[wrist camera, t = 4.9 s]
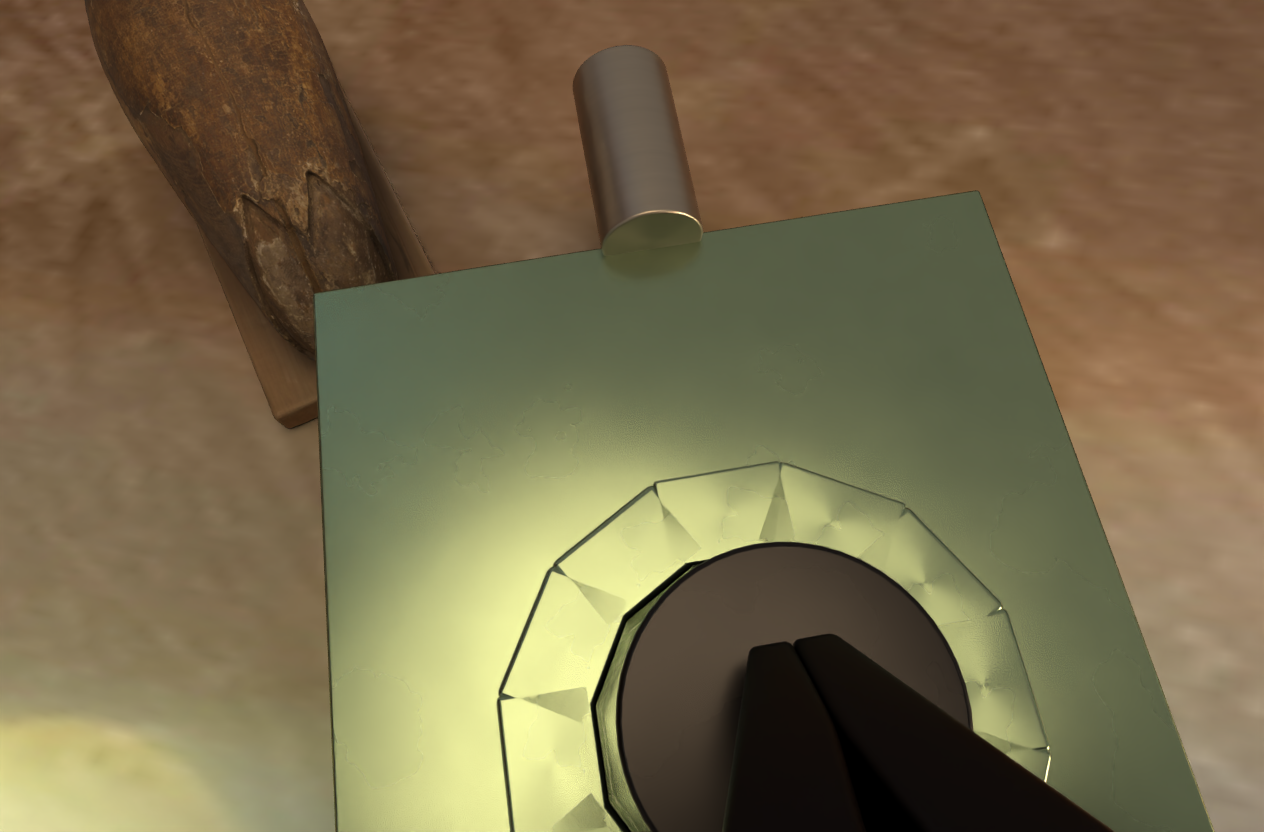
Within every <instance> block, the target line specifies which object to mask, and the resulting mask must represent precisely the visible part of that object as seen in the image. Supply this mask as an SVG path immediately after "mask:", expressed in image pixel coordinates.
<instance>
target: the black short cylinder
mask: <svg viewBox="0 0 1264 832" xmlns="http://www.w3.org/2000/svg"><path fill="white" fill-rule="evenodd" d="M823 634H834V635H837V636H839V637H840V638H842V639H843V640H845V641H846V642H847V643H849V644H850V645H852V646H853V647H854V648H856V649H857V650H859V651H860V652H862V653H863V654H864V655H866V656H867V657H869V658H870V659H871V660H873V661H874V662H876V663H877V664H879V665H880V666H881V667H883V668H884V669H886V670H887V671H888V672H890V673H891V674H893V675H894V676H896V677H897V678H898V679H900V680H901V681H903V682H904V683H905V684H907V685H908V686H910V687H911V688H912V689H914V690H915V691H917V692H918V693H920V694H921V695H922V696H924V697H925V698H927V699H928V700H929V701H931V702H932V703H934V704H935V705H937V706H938V707H939V708H941V709H942V710H944V711H945V712H946V713H948V714H949V715H951V716H952V717H954V718H955V719H956V720H958V721H959V722H961V723H962V724H963V725H965V726H966V727H968V728H969V729H970V730H972V731H973V732H974V728H973V719H972V709H971V705H970V700H969V696H968V692H967V687H966V684H965V681H964V678H963V675H962V673H961V670H960V667H959V664H958V662H957V660H956V658H955V656H954V654H953V652H952V650H951V648H950V646H949V644H948V642H947V640H946V638H945V637H944V635H943V634H942V632H941V631H940V629H939V628H938V626H937V624H936V623H935V621H934V620H933V619H932V618H931V616H930V615H929V614H928V613H927V612H926V610H925V609H924V608H923V607H922V606H921V604H920V603H919V602H918V601H917V600H916V599H915V598H914V597H913V596H912V595H911V594H910V593H909V592H907V591H906V590H905V589H904V588H903V587H902V586H901V585H900V584H898V583H897V582H896V581H894V580H893V579H892V578H890V577H889V576H888V575H886V574H885V573H884V572H882V571H880V570H879V569H877V568H875V567H874V566H872V565H870V564H868V563H867V562H865V561H863V560H861V559H858V558H856V557H854V556H851V555H849V554H847V553H844V552H842V551H838V550H835V549H831V548H828V547H824V546H821V545H815V544H808V543H802V542H779V541H776V542H767V543H757V544H752V545H748V546H743V547H739V548H735V549H732V550H729V551H727V552H724V553H722V554H719V555H716V556H714V557H712V558H710V559H708V560H707V561H705V562H703V563H701V564H699V565H697V566H695V567H694V568H693V569H691V570H690V571H689V572H687V573H686V574H684V575H683V576H682V577H680V578H679V579H678V580H677V581H675V582H674V583H673V584H672V585H671V586H670V587H669V588H668V589H667V590H666V591H665V592H664V593H663V594H662V595H661V596H660V597H659V599H658V600H657V601H656V602H655V604H654V605H653V606H652V607H651V609H650V610H649V611H648V613H647V614H646V616H645V618H644V619H643V621H642V623H641V624H640V626H639V627H638V629H637V631H636V633H635V635H634V637H633V640H632V642H631V644H630V646H629V649H628V651H627V654H626V657H625V660H624V664H623V667H622V671H621V674H620V679H619V685H618V691H617V698H616V722H615V724H616V735H617V746H618V752H619V756H620V761H621V766H622V770H623V774H624V777H625V780H626V783H627V786H628V788H629V791H630V794H631V797H632V799H633V801H634V803H635V805H636V807H637V809H638V811H639V813H640V815H641V817H642V819H643V821H644V822H645V824H646V825H647V827H648V828H649V830H650V831H651V832H722V828H723V821H724V815H725V808H726V801H727V795H728V788H729V781H730V775H731V768H732V761H733V755H734V748H735V741H736V734H737V728H738V721H739V714H740V708H741V701H742V694H743V688H744V681H745V674H746V667H747V661H748V654H749V651H750V649H752V648H753V647H755V646H760V645H766V644H771V643H777V642H783V641H786V642H789V643H791V644H792V645H793V643H794V642H795V641H796V640H797V639H800V638H806V637H811V636H817V635H823Z"/></svg>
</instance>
